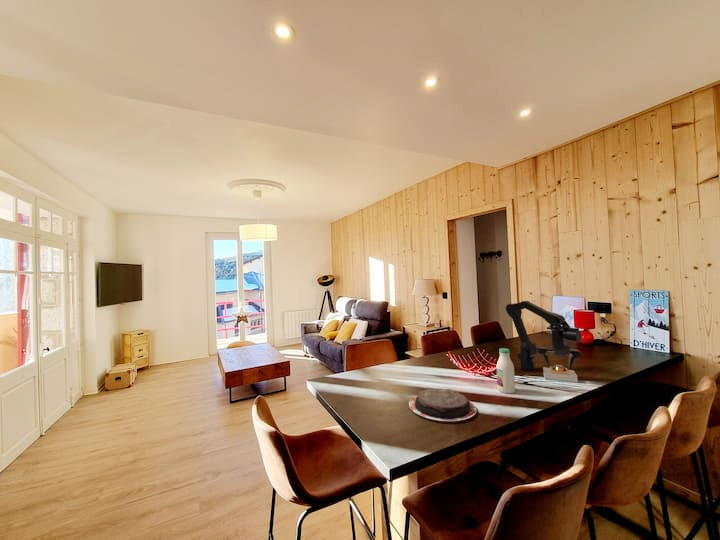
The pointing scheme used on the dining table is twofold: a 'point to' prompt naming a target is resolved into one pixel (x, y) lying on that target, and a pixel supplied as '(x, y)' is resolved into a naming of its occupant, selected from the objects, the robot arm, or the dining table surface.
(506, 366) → the milk bottle
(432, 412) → the chocolate cake
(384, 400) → the dining table surface
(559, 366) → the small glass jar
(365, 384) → the dining table surface
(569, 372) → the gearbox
